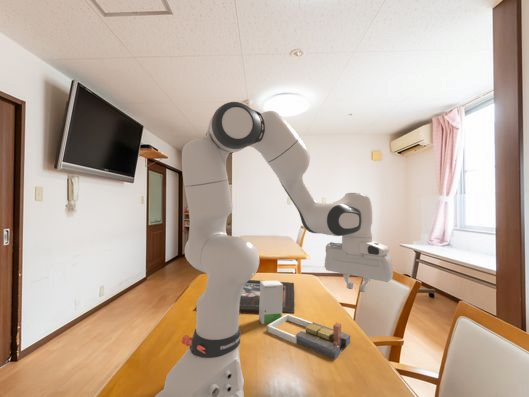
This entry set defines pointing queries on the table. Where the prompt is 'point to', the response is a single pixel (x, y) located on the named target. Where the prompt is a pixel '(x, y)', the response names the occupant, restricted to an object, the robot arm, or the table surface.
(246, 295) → the religious icon
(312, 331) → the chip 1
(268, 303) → the skincare box
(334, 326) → the copper metal bar
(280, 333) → the tray
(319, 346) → the slot bed
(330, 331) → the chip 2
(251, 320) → the table surface
